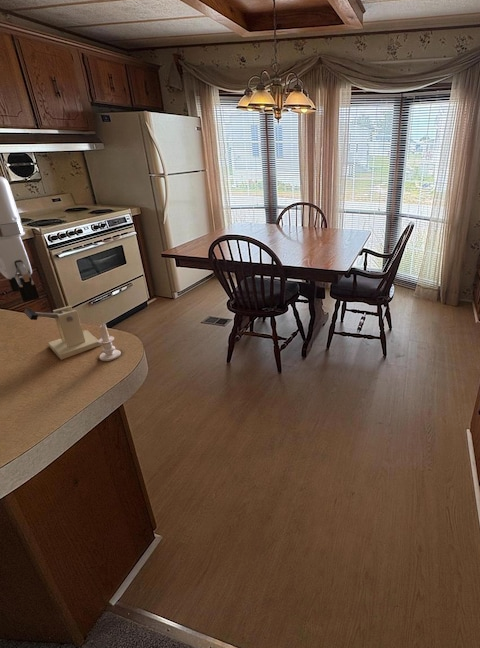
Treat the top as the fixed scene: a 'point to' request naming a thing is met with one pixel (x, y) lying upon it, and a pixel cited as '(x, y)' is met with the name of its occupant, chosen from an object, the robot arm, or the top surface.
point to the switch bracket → (71, 335)
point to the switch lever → (41, 314)
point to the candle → (107, 345)
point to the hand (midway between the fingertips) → (25, 294)
